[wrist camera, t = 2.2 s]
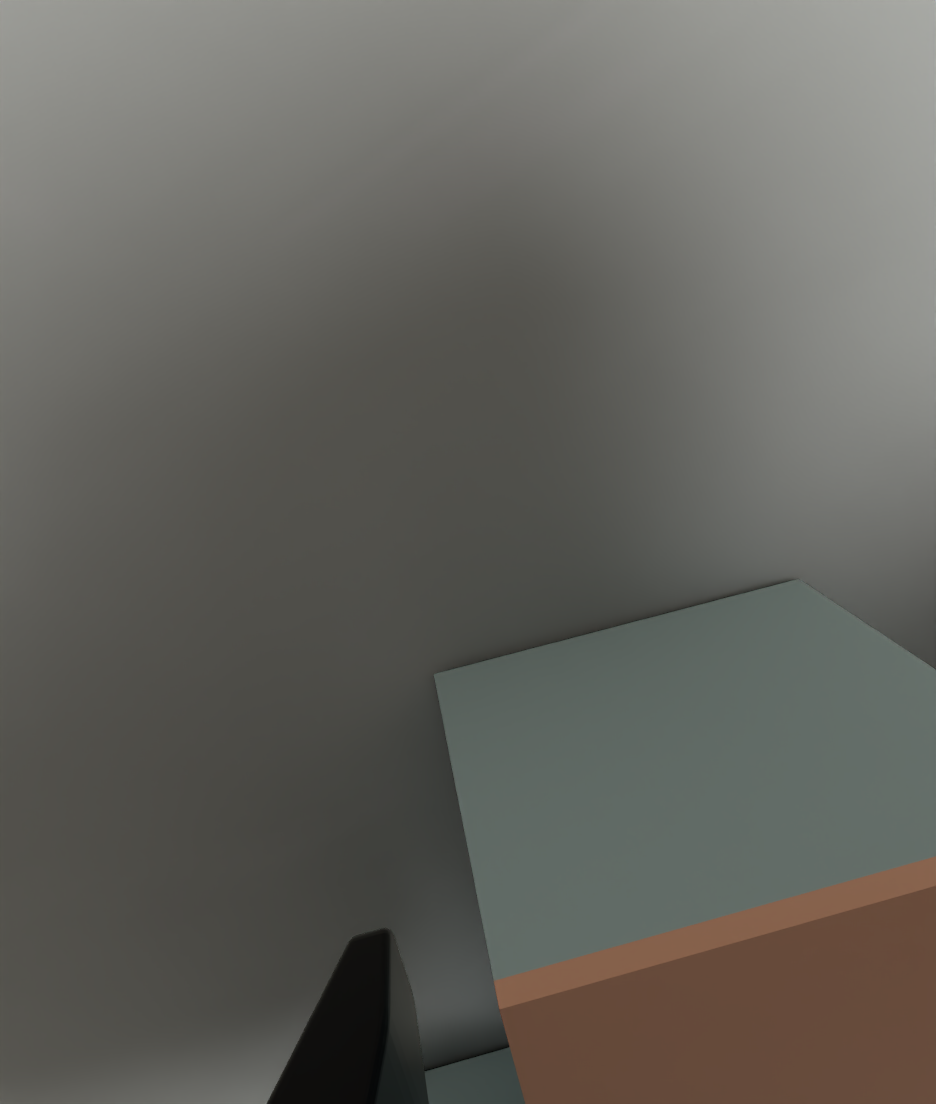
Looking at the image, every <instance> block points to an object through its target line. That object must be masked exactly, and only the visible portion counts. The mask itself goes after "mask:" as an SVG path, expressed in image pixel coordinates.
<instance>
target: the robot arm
mask: <svg viewBox="0 0 936 1104" xmlns="http://www.w3.org/2000/svg"><path fill="white" fill-rule="evenodd" d="M267 1104H429V1101H428V1094H427V1087H426V1079H425V1072H424V1065H423V1058H422V1051H421V1044H420V1036H419V1029H418V1022H417V1015H416V1008H415V1003H414V998H413V994H412V990H411V986H410V983H409V980H408V977H407V974H406V971H405V967H404V964H403V961H402V958H401V955H400V952H399V949H398V946H397V943H396V939H395V937H394V934H393V932H392V931H391V930H390V929H388V928H381V929H378V930H374V931H371V932H367V933H363V934H360V935H356V936H354V937H353V938H352V939H351V940H350V941H349V942H348V944H347V946H346V948H345V950H344V952H343V954H342V956H341V958H340V960H339V962H338V964H337V966H336V968H335V970H334V972H333V974H332V976H331V978H330V980H329V982H328V984H327V986H326V987H325V989H324V991H323V993H322V995H321V997H320V999H319V1001H318V1003H317V1005H316V1007H315V1009H314V1011H313V1013H312V1015H311V1017H310V1019H309V1021H308V1023H307V1025H306V1027H305V1029H304V1031H303V1033H302V1035H301V1037H300V1039H299V1041H298V1043H297V1045H296V1047H295V1049H294V1051H293V1053H292V1055H291V1057H290V1059H289V1061H288V1063H287V1065H286V1067H285V1069H284V1071H283V1072H282V1074H281V1076H280V1078H279V1080H278V1082H277V1084H276V1086H275V1088H274V1090H273V1092H272V1094H271V1096H270V1098H269V1100H268V1102H267Z"/></svg>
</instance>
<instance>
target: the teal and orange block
mask: <svg viewBox="0 0 936 1104" xmlns="http://www.w3.org/2000/svg"><path fill="white" fill-rule="evenodd" d="M434 679H435V684H436V689H437V694H438V699H439V704H440V709H441V715H442V720H443V725H444V730H445V735H446V740H447V745H448V750H449V755H450V760H451V766H452V771H453V776H454V781H455V786H456V791H457V796H458V801H459V806H460V812H461V817H462V822H463V827H464V832H465V837H466V842H467V847H468V852H469V858H470V863H471V868H472V873H473V878H474V883H475V888H476V893H477V898H478V903H479V909H480V914H481V919H482V924H483V929H484V934H485V939H486V944H487V949H488V955H489V960H490V965H491V970H492V975H493V980H494V985H495V990H496V995H497V1001H498V1006H499V1010H500V1014H501V1018H502V1021H503V1025H504V1028H505V1032H506V1036H507V1039H508V1043H509V1047H510V1050H511V1054H512V1057H513V1061H514V1065H515V1068H516V1072H517V1075H518V1079H519V1083H520V1086H521V1090H522V1094H523V1097H524V1101H525V1104H936V669H934V668H933V667H931V666H930V665H928V664H927V663H925V662H924V661H922V660H921V659H919V658H918V657H916V656H915V655H913V654H912V653H910V652H909V651H907V650H906V649H904V648H903V647H901V646H900V645H898V644H897V643H895V642H894V641H892V640H891V639H889V638H887V637H886V636H884V635H883V634H881V633H880V632H878V631H877V630H875V629H874V628H872V627H871V626H869V625H868V624H866V623H865V622H863V621H862V620H860V619H859V618H857V617H856V616H854V615H853V614H851V613H850V612H848V611H847V610H845V609H844V608H842V607H841V606H839V605H838V604H836V603H835V602H833V601H832V600H830V599H829V598H827V597H826V596H824V595H823V594H821V593H820V592H818V591H817V590H815V589H814V588H812V587H811V586H809V585H808V584H806V583H804V582H803V581H801V580H800V579H796V580H792V581H789V582H785V583H781V584H777V585H773V586H769V587H766V588H762V589H758V590H754V591H750V592H746V593H743V594H739V595H735V596H731V597H727V598H723V599H720V600H716V601H712V602H708V603H704V604H700V605H697V606H693V607H689V608H685V609H681V610H677V611H674V612H670V613H666V614H662V615H658V616H654V617H651V618H647V619H643V620H639V621H635V622H632V623H628V624H624V625H620V626H616V627H612V628H609V629H605V630H601V631H597V632H593V633H589V634H586V635H582V636H578V637H574V638H570V639H566V640H563V641H559V642H555V643H551V644H547V645H543V646H540V647H536V648H532V649H528V650H524V651H520V652H517V653H513V654H509V655H505V656H501V657H497V658H494V659H490V660H486V661H482V662H478V663H475V664H471V665H467V666H463V667H459V668H455V669H452V670H448V671H444V672H440V673H436V674H434Z"/></svg>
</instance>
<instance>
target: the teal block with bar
mask: <svg viewBox="0 0 936 1104" xmlns="http://www.w3.org/2000/svg"><path fill="white" fill-rule="evenodd" d="M425 1079H426V1087H427V1094H428V1101H429V1104H525V1101H524V1097H523V1094H522V1090H521V1086H520V1083H519V1079H518V1075H517V1072H516V1068H515V1065H514V1061H513V1057H512V1054H511V1050H510V1047H509V1048H505V1049H502V1050H498V1051H495V1052H491V1053H488V1054H484V1055H481V1056H477V1057H474V1058H470V1059H467V1060H463V1061H460V1062H456V1063H453V1064H449V1065H446V1066H442V1067H439V1068H435V1069H432V1070H428V1071H425Z"/></svg>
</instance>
